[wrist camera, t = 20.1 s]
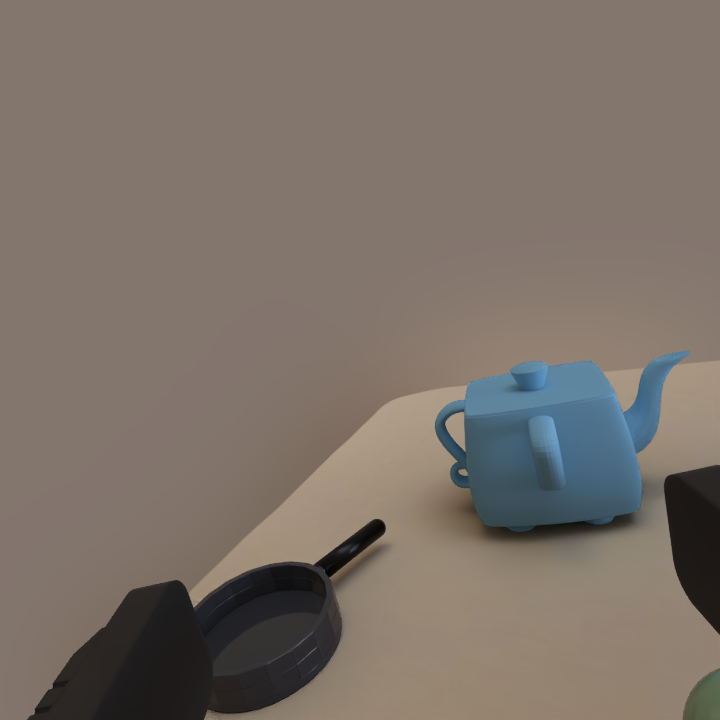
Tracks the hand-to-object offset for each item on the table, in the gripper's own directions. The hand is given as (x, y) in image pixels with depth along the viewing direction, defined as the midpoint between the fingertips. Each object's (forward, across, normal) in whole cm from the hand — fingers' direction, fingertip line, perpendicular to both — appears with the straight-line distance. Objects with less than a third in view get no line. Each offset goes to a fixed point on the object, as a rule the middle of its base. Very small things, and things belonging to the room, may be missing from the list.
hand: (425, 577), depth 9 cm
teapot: (+38, -13, +22) cm, 46 cm away
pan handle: (+34, +7, +21) cm, 41 cm away
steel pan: (+27, +14, +22) cm, 38 cm away
